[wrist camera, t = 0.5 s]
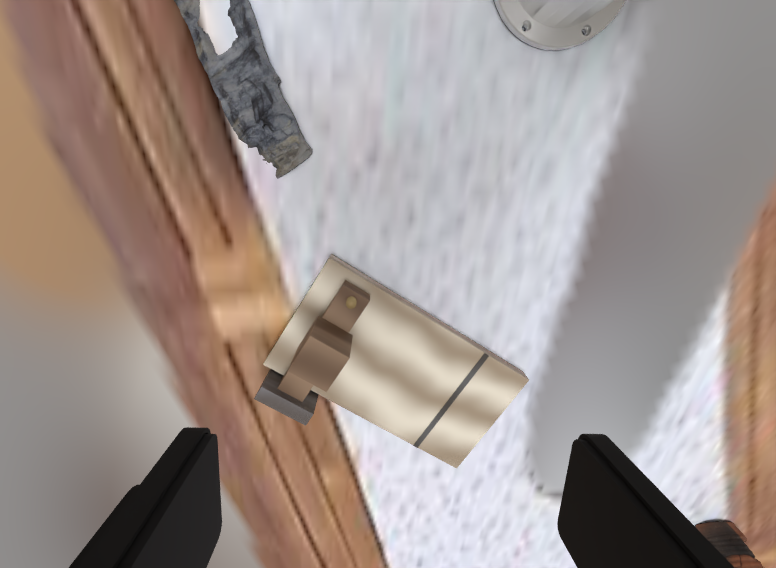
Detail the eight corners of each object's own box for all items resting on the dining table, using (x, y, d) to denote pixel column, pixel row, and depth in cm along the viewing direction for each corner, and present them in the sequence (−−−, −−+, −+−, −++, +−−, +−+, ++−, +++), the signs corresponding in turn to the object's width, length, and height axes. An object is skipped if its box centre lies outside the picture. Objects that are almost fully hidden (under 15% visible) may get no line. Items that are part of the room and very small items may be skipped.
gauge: (334, 267, 41) (323, 292, 33) (382, 296, 42) (383, 328, 34) (266, 375, 44) (241, 423, 36) (312, 399, 45) (298, 451, 37)
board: (331, 253, 41) (329, 258, 39) (522, 371, 46) (529, 380, 44) (268, 356, 44) (262, 364, 42) (453, 456, 49) (456, 469, 47)
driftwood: (318, 164, 39) (315, 163, 37) (257, 187, 40) (250, 188, 38) (227, -70, 34) (217, -86, 32) (157, -40, 34) (143, -53, 32)
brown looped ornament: (751, 520, 54) (799, 596, 48) (688, 536, 60) (723, 605, 54) (700, 516, 49) (746, 600, 44) (637, 534, 55) (669, 609, 50)
